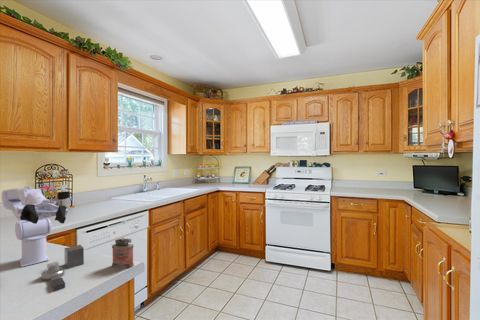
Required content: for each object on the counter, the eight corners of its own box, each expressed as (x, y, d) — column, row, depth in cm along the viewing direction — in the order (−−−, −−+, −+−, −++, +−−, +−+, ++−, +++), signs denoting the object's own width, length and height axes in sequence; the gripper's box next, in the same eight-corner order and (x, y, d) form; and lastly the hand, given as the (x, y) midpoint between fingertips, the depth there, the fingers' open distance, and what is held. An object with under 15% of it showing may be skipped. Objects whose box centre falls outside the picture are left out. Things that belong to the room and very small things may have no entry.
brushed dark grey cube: (64, 264, 89) (64, 248, 89) (80, 260, 92) (80, 244, 92) (67, 268, 85) (67, 251, 85) (83, 264, 89) (83, 247, 89)
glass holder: (73, 210, 190) (73, 191, 190) (55, 214, 176) (55, 194, 176) (64, 210, 192) (64, 191, 192) (46, 214, 178) (46, 193, 178)
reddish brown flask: (109, 267, 86) (109, 239, 86) (116, 263, 89) (115, 236, 89) (130, 268, 84) (129, 240, 84) (135, 264, 88) (135, 237, 88)
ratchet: (40, 276, 80) (40, 264, 80) (62, 270, 84) (62, 258, 84) (46, 293, 69) (46, 279, 69) (71, 285, 73) (71, 272, 73)
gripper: (17, 193, 82) (27, 208, 74) (65, 196, 94) (78, 210, 86) (10, 212, 82) (19, 230, 74) (59, 213, 94) (71, 228, 86)
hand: (50, 220), depth 80 cm, fingers open, 7 cm apart
